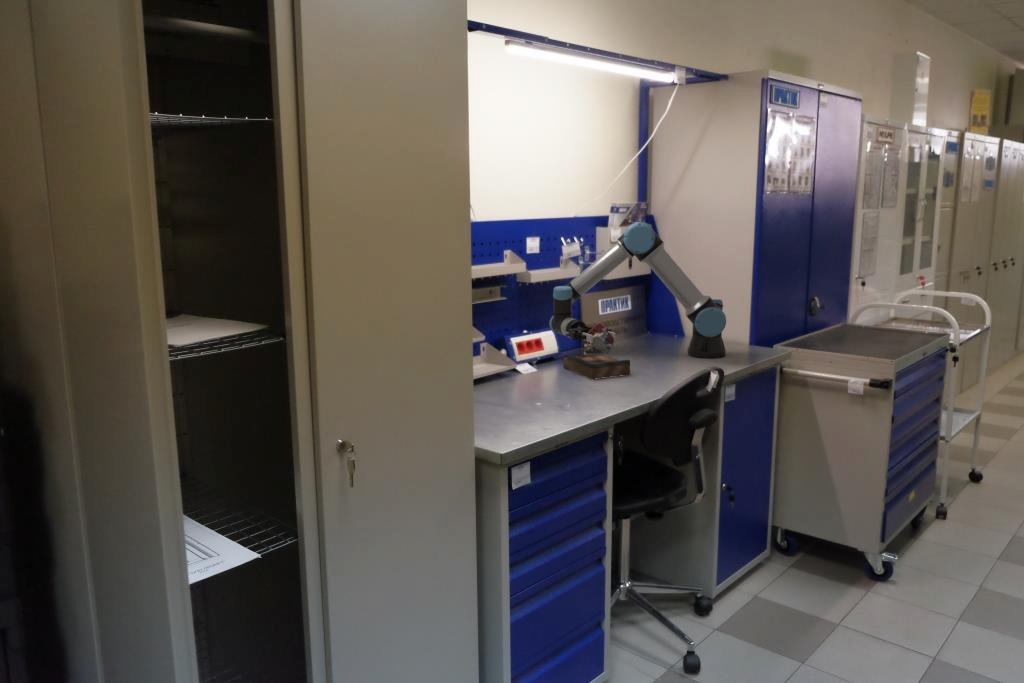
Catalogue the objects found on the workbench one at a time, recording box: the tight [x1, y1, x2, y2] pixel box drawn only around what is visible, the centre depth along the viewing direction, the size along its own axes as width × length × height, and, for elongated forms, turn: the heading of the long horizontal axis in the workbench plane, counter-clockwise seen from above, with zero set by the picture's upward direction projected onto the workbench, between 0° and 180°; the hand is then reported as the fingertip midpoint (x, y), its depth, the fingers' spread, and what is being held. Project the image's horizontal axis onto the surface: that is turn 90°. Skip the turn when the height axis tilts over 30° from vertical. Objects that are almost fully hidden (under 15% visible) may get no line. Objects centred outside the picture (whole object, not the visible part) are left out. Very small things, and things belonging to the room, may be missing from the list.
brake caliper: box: [583, 322, 615, 355], centre depth 276 cm, size 11×11×12 cm
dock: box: [563, 353, 631, 380], centre depth 281 cm, size 16×22×6 cm
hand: (603, 337), depth 274 cm, fingers closed on brake caliper, 9 cm apart
